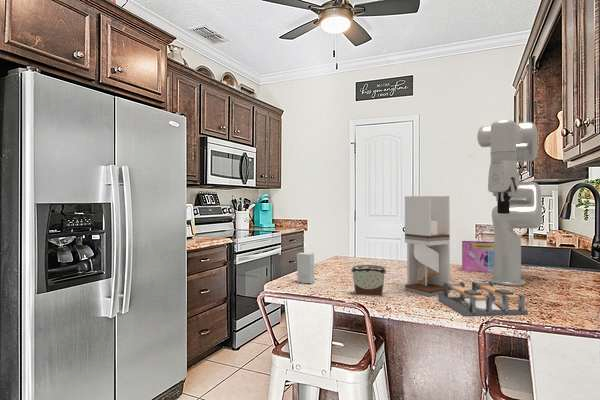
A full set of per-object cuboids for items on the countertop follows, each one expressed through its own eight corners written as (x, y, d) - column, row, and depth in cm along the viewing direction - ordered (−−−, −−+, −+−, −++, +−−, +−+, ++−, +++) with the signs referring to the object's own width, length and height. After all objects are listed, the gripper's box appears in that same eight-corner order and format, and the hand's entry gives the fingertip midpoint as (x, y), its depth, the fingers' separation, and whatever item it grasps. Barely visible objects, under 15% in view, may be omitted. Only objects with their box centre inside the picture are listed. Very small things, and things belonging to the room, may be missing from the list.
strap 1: (446, 289, 131) (446, 283, 131) (458, 289, 131) (458, 282, 131) (474, 303, 113) (474, 295, 113) (489, 302, 113) (488, 295, 113)
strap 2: (474, 288, 132) (474, 282, 132) (487, 288, 132) (487, 282, 132) (507, 302, 114) (507, 294, 114) (521, 302, 114) (521, 294, 114)
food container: (386, 292, 141) (386, 265, 141) (386, 296, 135) (386, 267, 135) (352, 290, 144) (352, 263, 144) (351, 294, 138) (350, 266, 138)
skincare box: (315, 282, 159) (314, 252, 158) (310, 284, 155) (310, 254, 154) (301, 281, 161) (301, 252, 161) (296, 283, 157) (296, 253, 157)
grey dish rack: (437, 299, 130) (437, 282, 130) (492, 298, 132) (492, 281, 132) (465, 316, 112) (464, 296, 112) (527, 314, 114) (527, 294, 114)
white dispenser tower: (405, 290, 145) (404, 196, 144) (425, 286, 150) (424, 196, 150) (429, 296, 135) (429, 196, 135) (449, 292, 140) (449, 196, 140)
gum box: (516, 271, 182) (516, 242, 182) (520, 274, 174) (520, 244, 174) (461, 268, 190) (461, 240, 190) (463, 271, 182) (462, 242, 182)
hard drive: (463, 297, 129) (472, 307, 117) (490, 299, 128) (501, 309, 115) (463, 302, 129) (472, 313, 117) (490, 304, 128) (501, 314, 115)
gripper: (480, 160, 136) (480, 212, 136) (506, 155, 121) (506, 214, 121) (500, 160, 137) (500, 212, 137) (529, 155, 122) (529, 214, 122)
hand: (503, 213), depth 129 cm, fingers closed
